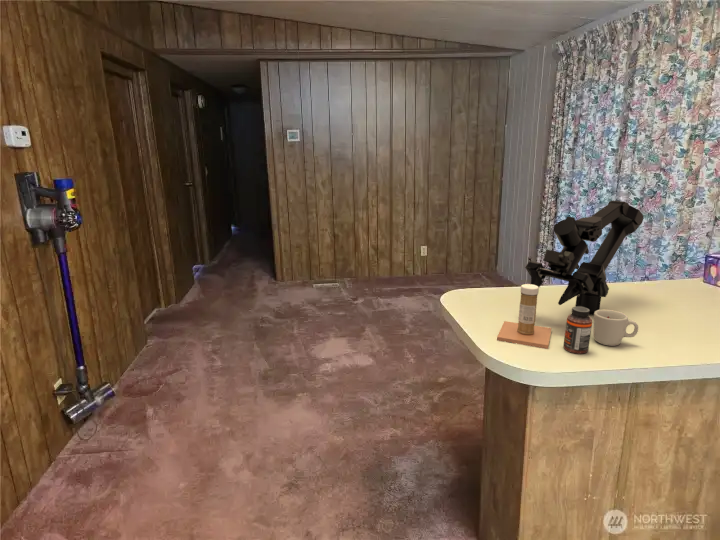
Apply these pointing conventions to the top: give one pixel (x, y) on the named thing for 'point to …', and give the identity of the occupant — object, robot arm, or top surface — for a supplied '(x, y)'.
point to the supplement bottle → (578, 330)
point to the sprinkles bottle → (527, 309)
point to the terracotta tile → (536, 339)
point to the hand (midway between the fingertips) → (544, 299)
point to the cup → (612, 327)
